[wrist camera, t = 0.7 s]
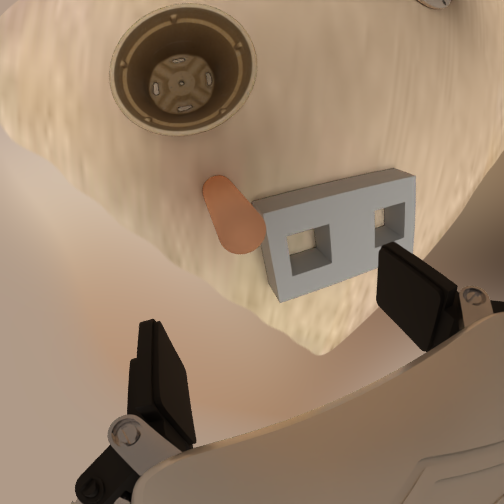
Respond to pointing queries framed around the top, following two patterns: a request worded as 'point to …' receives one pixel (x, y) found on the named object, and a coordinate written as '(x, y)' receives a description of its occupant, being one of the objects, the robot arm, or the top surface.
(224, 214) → the peg
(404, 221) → the socket block
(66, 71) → the top surface
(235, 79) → the flower pot
